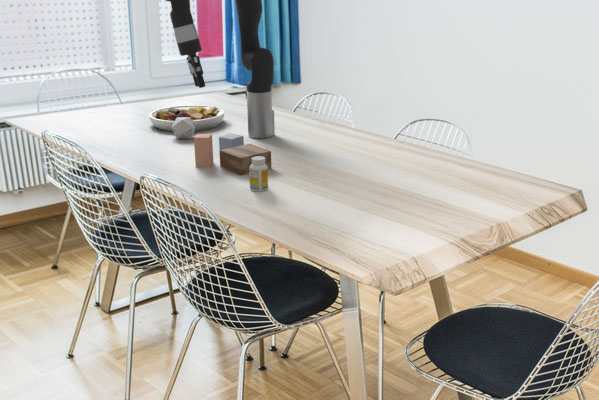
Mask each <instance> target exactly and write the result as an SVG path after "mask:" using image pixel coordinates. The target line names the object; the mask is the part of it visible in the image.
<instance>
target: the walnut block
mask: <svg viewBox="0 0 599 400" xmlns="http://www.w3.org/2000/svg"><path fill="white" fill-rule="evenodd" d="M218 152H219V167H220V168H222V169H224V170H227V171H229V172H232V173H234V174H237V175H239V176H244V175H247V174H249V175H250V170H249V168H250V165H251V164H252V157H256V156H262V157H265V163H264V164H266V165H267V167H268V170H269V169H272V150H269V149H266V148H264V147H263V148H262V147H261V146H257V145H255V144H252V143H247V144H244V145H242V146H237V147H232V148H227V149H222V150H220V149H219V151H218Z"/></svg>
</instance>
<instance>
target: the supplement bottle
mask: <svg viewBox="0 0 599 400" xmlns="http://www.w3.org/2000/svg"><path fill="white" fill-rule="evenodd" d="M264 163H265V157H262V156H256V157H252V164H251V165H250V168H249V170H250V173H249V189H250V190H251V191H252V192H258V193H259V192H265V191H267V190H268V189H269V180H268V179H269V175H268V172H269V171H268V170H269V169H268V167H267V165H266V164H264Z"/></svg>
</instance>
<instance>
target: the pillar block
mask: <svg viewBox="0 0 599 400" xmlns="http://www.w3.org/2000/svg"><path fill="white" fill-rule="evenodd" d="M193 144H194V145H193V146H194V158H195V159H194V161H195V168H211V167H212V165H214V148H213V145H214V144H213V134H212V133H197V134H196V135H194V136H193Z"/></svg>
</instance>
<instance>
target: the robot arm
mask: <svg viewBox="0 0 599 400" xmlns="http://www.w3.org/2000/svg"><path fill="white" fill-rule="evenodd" d="M165 1H167V2H170V6H171V7H170V8H171V11H170V13H169V14H170V15H169V16H170V19H171V20H170V21H171V25H172V27H173V33H174V38H175V41H176V44H177V48H178V51H179V55H180V56H181V57H184V56H186V63H187V65H188V69H189V72H190V74H191V76H192V78H193V83H194V86H195V87H198V88H199V89H202V88H204V87H206V83H205V79H204V70H203V67H202V64H201V59H200V57H199V55H197V53H199V52H202V49H203V48H202V45H201V41H200V37H199V34H198V30H197V28H196V25H195V22H194V19H193V14H192V11H191V2H190V1H191V0H165ZM234 1H235V6H236V12H237V20H238V26H239V27H238V28H239V35H240V54H241V62H242V65H243V67H244V68H245V69H246V70H247V71H249V72H251V80H250V81H248V82H247V84H246V106H247V107H246V109H247V129H248V130H247V133H248V134H247V136H248V137H250V138H252V139H267V138H271V137H273V136H275V135H276V133H275V132H276V129H275V126H276V125H275V110H274V109H273V100H272V86H273V83H274V74H275V73H274V71H275V70H274V67H275V66H274V56H273V54H272V52H271V50H269V49H268V48H265V47H262V46H261V44H260V38H259V27H260V23H261V22H260V21H261V18H262V15H263V2H262V0H234Z"/></svg>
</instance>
